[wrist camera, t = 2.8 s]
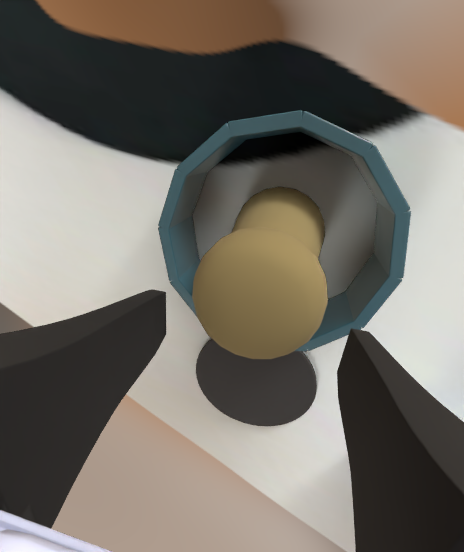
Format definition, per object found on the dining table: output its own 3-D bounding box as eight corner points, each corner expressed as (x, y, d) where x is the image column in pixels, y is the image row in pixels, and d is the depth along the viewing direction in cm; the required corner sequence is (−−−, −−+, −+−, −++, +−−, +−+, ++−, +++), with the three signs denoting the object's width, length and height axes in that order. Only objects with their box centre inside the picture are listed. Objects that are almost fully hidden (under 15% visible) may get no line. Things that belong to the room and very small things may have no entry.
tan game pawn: (225, 256, 21) (155, 348, 11) (250, 173, 19) (187, 201, 9) (303, 285, 21) (301, 408, 11) (341, 205, 18) (382, 271, 8)
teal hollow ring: (438, 182, 16) (475, 191, 13) (316, 346, 22) (318, 383, 19) (227, 81, 17) (206, 63, 13) (163, 269, 23) (137, 291, 19)
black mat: (341, 366, 23) (342, 369, 22) (280, 439, 27) (280, 443, 27) (222, 306, 23) (221, 308, 23) (182, 388, 28) (180, 391, 27)
